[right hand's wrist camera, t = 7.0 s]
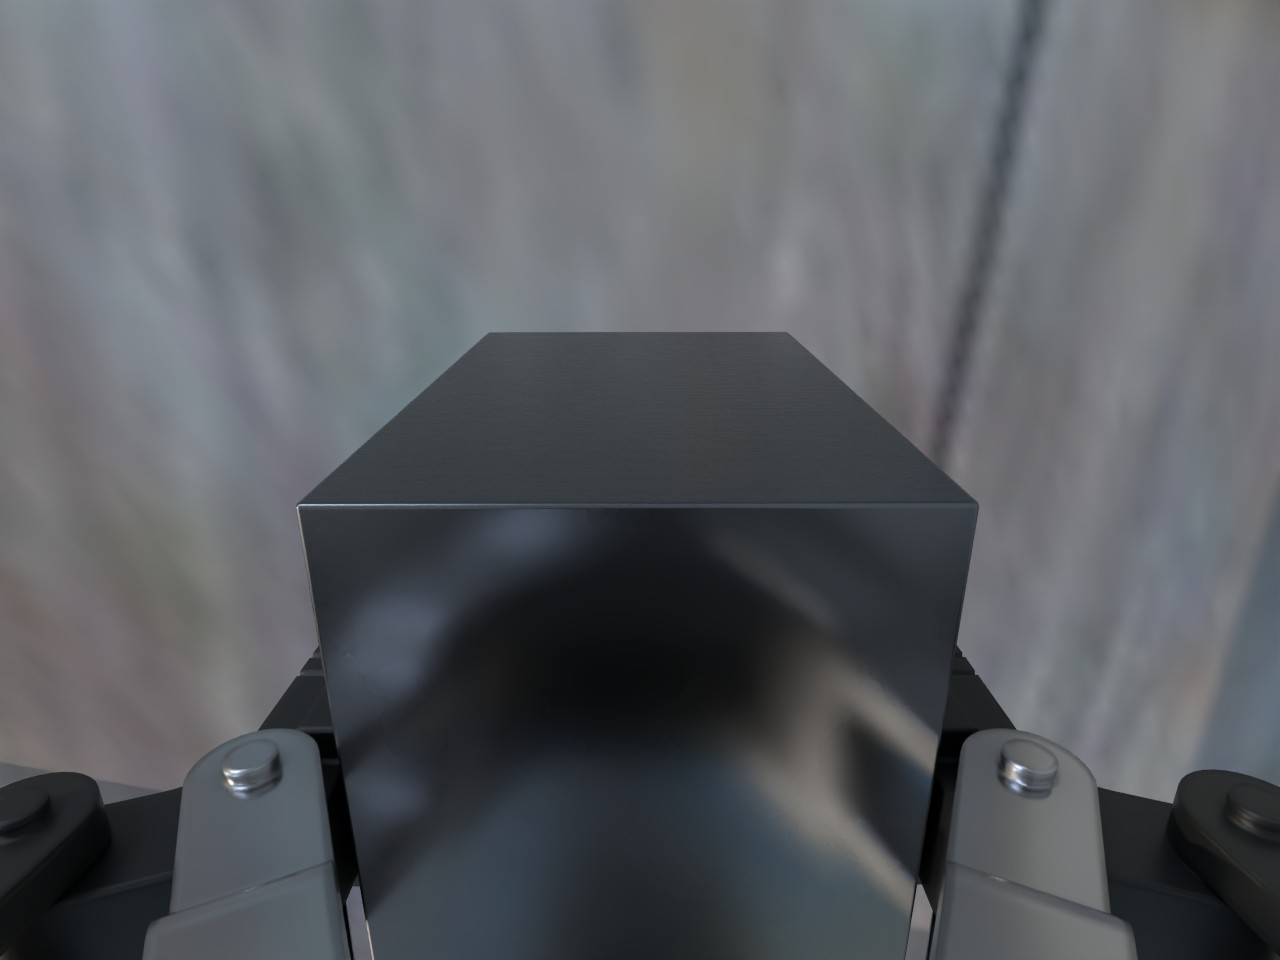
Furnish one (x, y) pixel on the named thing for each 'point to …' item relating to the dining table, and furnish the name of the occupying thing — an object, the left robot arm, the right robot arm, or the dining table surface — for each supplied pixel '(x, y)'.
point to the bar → (637, 654)
